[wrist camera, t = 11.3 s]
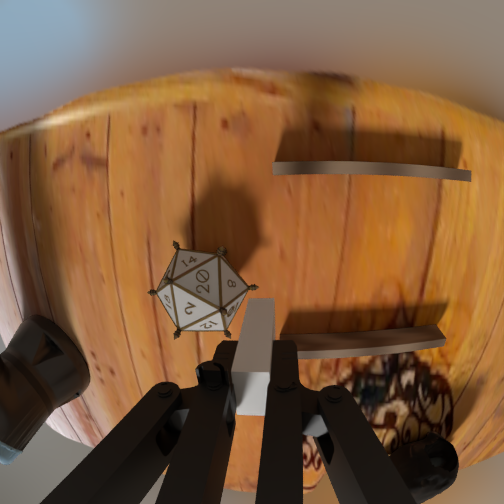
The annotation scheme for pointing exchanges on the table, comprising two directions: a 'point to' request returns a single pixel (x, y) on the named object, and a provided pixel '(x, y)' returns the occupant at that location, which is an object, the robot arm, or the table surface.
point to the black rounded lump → (427, 466)
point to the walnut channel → (380, 339)
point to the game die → (201, 291)
